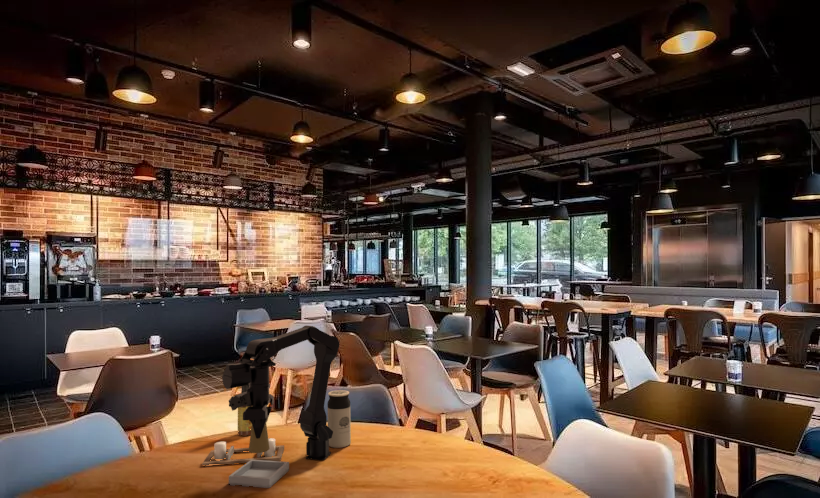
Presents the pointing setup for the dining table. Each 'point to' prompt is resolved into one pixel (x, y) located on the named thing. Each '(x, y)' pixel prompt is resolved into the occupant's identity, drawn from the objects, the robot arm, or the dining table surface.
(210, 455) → the ladder
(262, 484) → the tray
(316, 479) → the dining table surface
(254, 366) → the robot arm
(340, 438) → the travel mug
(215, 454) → the white short cylinder
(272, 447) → the cylinder
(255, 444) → the cork
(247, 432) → the sauce bottle
